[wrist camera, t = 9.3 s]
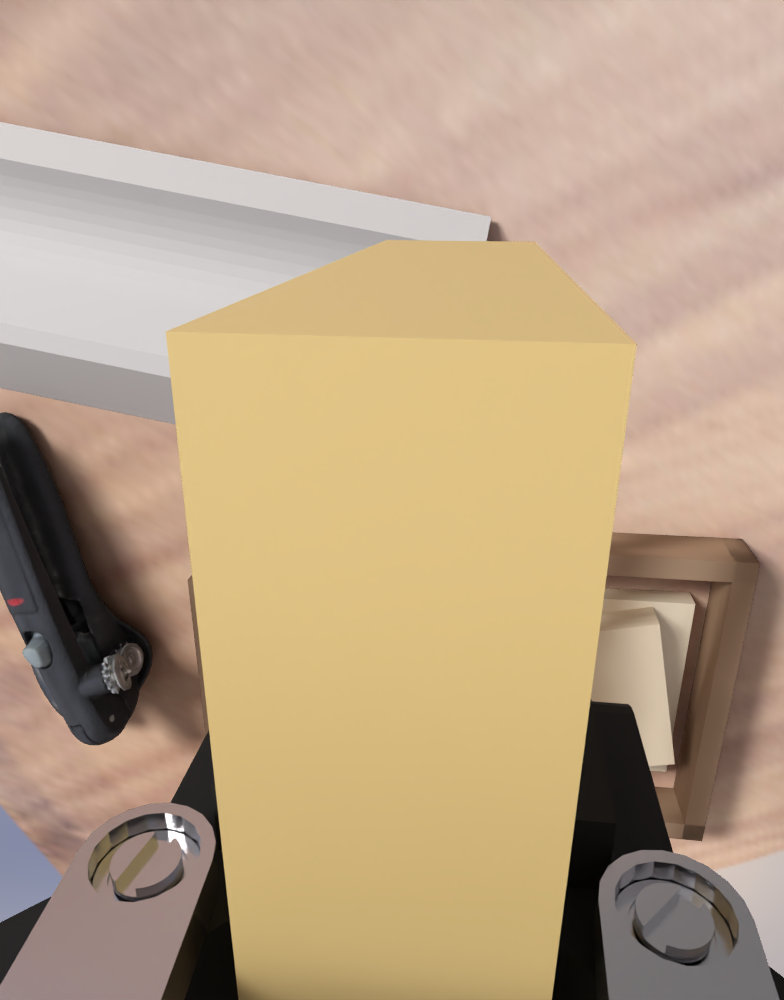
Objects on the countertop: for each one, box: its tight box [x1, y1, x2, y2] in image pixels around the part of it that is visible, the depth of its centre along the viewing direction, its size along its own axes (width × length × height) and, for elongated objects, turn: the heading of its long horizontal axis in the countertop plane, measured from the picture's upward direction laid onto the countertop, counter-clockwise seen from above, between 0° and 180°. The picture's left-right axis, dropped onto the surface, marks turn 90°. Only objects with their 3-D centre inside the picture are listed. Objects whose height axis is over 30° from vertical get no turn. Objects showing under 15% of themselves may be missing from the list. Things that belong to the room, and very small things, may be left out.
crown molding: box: [0, 122, 491, 424], centre depth 33 cm, size 31×12×4 cm, turn 80°
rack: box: [188, 533, 760, 841], centre depth 36 cm, size 24×16×7 cm, turn 90°
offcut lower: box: [602, 588, 695, 772], centre depth 38 cm, size 8×10×2 cm
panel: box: [166, 240, 637, 1000], centre depth 10 cm, size 2×12×9 cm, turn 179°
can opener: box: [0, 412, 152, 745], centre depth 37 cm, size 18×7×6 cm, turn 13°
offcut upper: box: [591, 607, 675, 766], centre depth 36 cm, size 6×8×2 cm
